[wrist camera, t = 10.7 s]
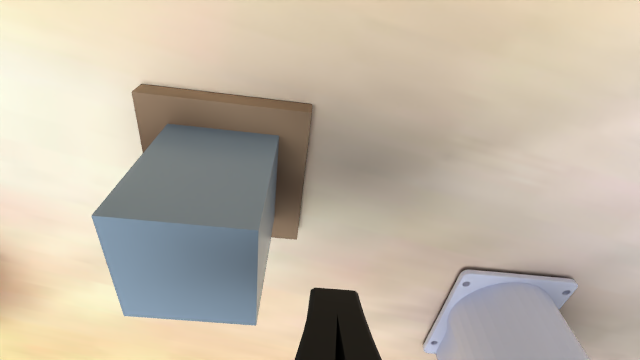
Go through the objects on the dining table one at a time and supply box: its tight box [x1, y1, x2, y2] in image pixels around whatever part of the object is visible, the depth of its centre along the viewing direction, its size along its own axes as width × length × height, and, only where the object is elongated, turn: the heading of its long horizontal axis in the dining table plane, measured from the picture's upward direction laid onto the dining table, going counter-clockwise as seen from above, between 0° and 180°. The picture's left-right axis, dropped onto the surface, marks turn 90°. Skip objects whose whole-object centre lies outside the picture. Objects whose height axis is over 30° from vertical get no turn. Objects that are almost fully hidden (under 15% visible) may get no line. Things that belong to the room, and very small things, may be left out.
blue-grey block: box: [92, 124, 279, 325], centre depth 15 cm, size 5×5×7 cm
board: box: [132, 84, 312, 239], centre depth 19 cm, size 8×8×1 cm
